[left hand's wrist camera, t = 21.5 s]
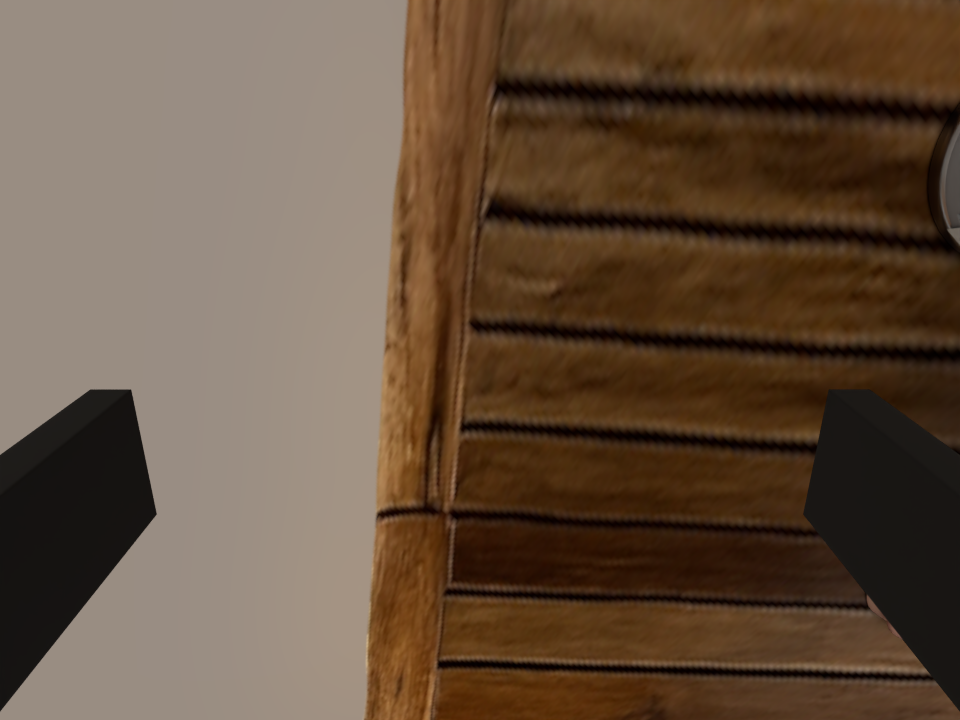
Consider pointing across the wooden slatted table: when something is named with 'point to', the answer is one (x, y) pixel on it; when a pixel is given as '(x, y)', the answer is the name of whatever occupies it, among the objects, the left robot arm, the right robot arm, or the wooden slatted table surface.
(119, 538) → the left robot arm
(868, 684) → the wooden slatted table surface
